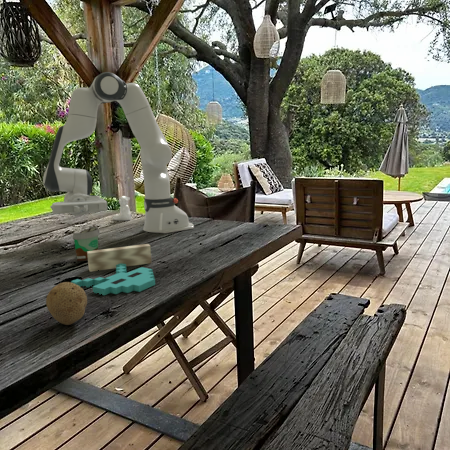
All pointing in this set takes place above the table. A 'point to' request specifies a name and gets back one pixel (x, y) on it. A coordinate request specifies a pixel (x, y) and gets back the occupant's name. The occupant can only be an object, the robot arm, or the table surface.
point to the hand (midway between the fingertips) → (82, 210)
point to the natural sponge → (66, 302)
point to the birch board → (119, 257)
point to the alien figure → (120, 281)
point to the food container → (86, 242)
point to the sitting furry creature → (123, 210)
